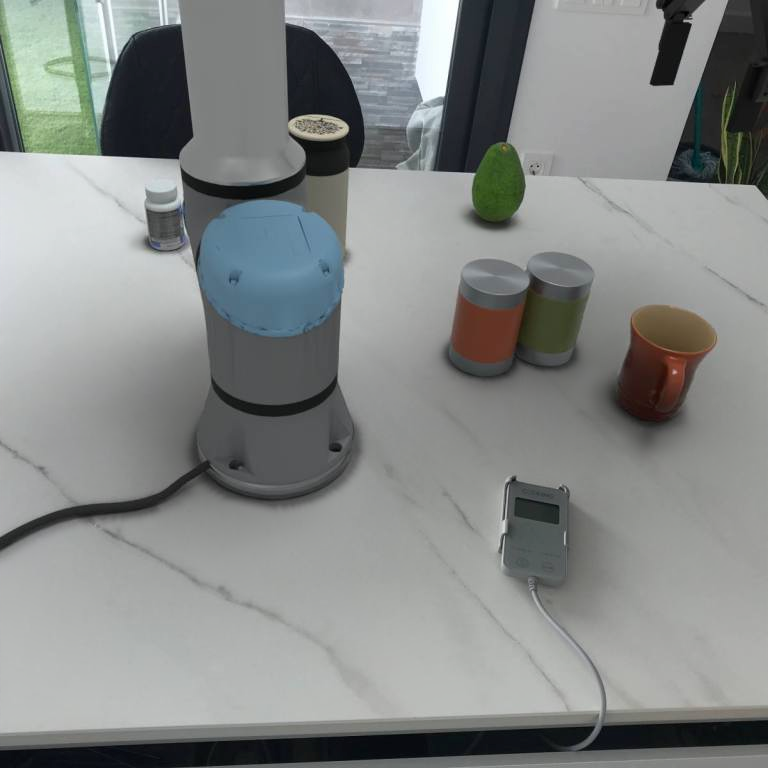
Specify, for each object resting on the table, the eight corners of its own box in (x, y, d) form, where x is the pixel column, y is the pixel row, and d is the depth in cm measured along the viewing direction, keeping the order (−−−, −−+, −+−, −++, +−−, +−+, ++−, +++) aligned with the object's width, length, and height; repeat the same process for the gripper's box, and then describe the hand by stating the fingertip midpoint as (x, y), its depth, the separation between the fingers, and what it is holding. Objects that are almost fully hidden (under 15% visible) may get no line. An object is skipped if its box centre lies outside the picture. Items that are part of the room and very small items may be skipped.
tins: (463, 381, 87) (477, 298, 80) (438, 342, 92) (450, 262, 85) (583, 362, 91) (607, 282, 84) (554, 326, 97) (574, 248, 90)
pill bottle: (191, 246, 105) (185, 189, 100) (157, 254, 103) (150, 196, 98) (177, 231, 108) (171, 174, 103) (144, 238, 106) (136, 181, 101)
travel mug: (332, 275, 102) (336, 143, 91) (276, 261, 104) (274, 130, 92) (353, 247, 108) (360, 120, 97) (300, 235, 110) (301, 109, 98)
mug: (604, 372, 90) (628, 298, 83) (681, 386, 89) (712, 312, 82) (607, 441, 81) (634, 364, 74) (692, 457, 80) (727, 380, 73)
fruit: (456, 218, 117) (467, 141, 110) (486, 202, 122) (499, 128, 115) (499, 237, 114) (514, 159, 106) (528, 220, 118) (544, 145, 111)
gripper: (921, -108, 61) (808, 151, 74) (723, -147, 79) (660, 67, 92) (848, -111, 59) (745, 156, 72) (661, -151, 77) (606, 69, 90)
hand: (697, 106), depth 82 cm, fingers open, 13 cm apart
